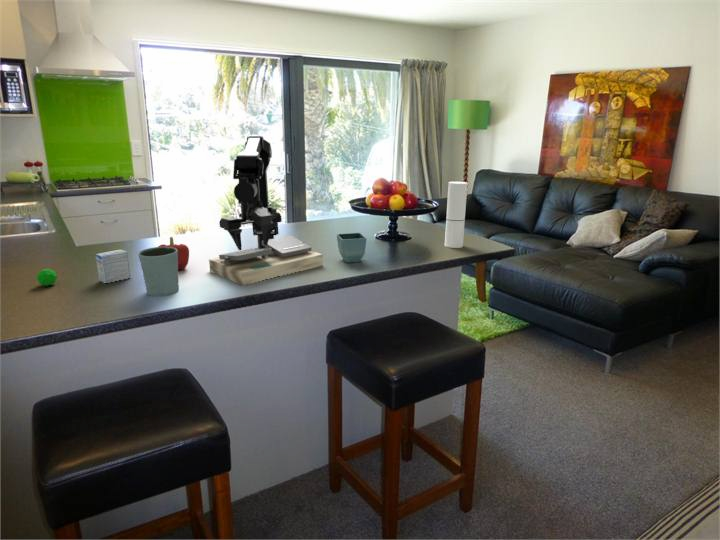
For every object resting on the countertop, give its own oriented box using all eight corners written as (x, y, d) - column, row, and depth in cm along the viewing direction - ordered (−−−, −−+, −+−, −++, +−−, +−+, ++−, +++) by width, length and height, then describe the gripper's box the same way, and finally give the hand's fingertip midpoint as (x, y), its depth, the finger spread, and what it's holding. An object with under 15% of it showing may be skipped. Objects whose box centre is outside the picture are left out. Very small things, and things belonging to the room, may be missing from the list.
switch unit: (210, 271, 158) (208, 251, 156) (287, 254, 179) (286, 236, 177) (243, 285, 144) (241, 264, 142) (322, 265, 165) (322, 246, 163)
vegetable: (157, 266, 163) (154, 236, 160) (190, 263, 166) (187, 234, 163) (156, 275, 153) (153, 244, 150) (191, 272, 157) (188, 242, 154)
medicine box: (124, 275, 153) (121, 249, 150) (131, 278, 150) (128, 251, 147) (98, 281, 147) (94, 253, 144) (105, 284, 144) (101, 256, 141)
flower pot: (342, 264, 166) (342, 239, 164) (336, 258, 175) (336, 233, 172) (366, 263, 169) (367, 238, 166) (359, 256, 177) (360, 232, 174)
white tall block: (461, 243, 197) (466, 181, 190) (463, 248, 190) (468, 183, 183) (443, 243, 198) (447, 181, 190) (445, 247, 191) (449, 183, 183)
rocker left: (219, 259, 155) (218, 254, 155) (252, 252, 163) (251, 248, 163) (239, 260, 146) (238, 255, 146) (272, 253, 154) (271, 248, 154)
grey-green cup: (186, 285, 144) (182, 246, 140) (174, 297, 134) (170, 255, 131) (151, 285, 143) (146, 246, 140) (137, 297, 134) (132, 255, 130)
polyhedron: (36, 285, 143) (33, 269, 142) (55, 281, 146) (52, 266, 145) (41, 289, 140) (37, 273, 138) (60, 285, 143) (57, 270, 141)
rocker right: (261, 244, 165) (261, 240, 164) (290, 239, 173) (290, 235, 173) (282, 257, 158) (282, 253, 157) (311, 251, 166) (311, 246, 165)
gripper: (236, 203, 134) (240, 258, 139) (291, 197, 147) (292, 247, 151) (216, 199, 142) (220, 250, 146) (270, 193, 154) (272, 240, 159)
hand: (252, 247), depth 151 cm, fingers open, 9 cm apart
